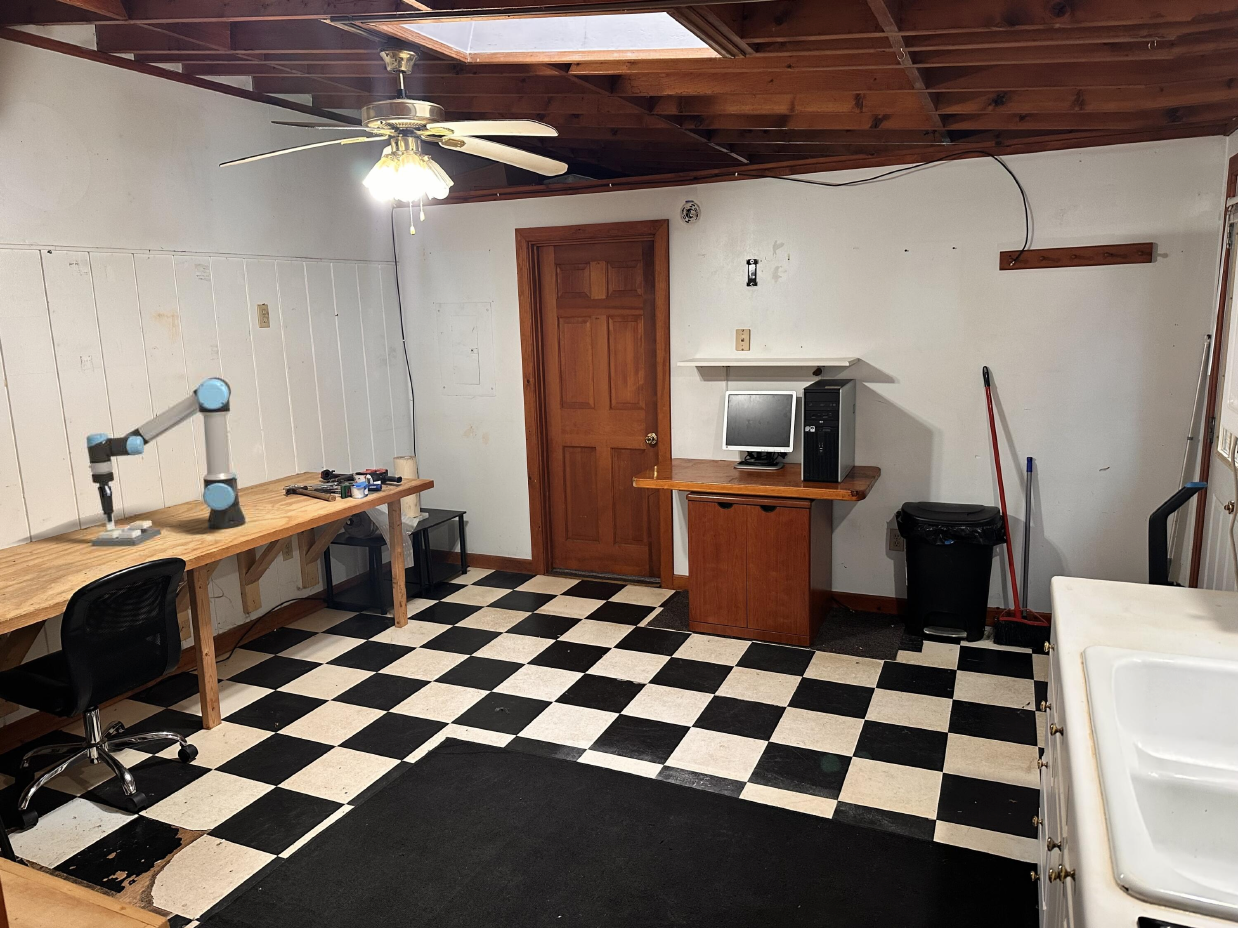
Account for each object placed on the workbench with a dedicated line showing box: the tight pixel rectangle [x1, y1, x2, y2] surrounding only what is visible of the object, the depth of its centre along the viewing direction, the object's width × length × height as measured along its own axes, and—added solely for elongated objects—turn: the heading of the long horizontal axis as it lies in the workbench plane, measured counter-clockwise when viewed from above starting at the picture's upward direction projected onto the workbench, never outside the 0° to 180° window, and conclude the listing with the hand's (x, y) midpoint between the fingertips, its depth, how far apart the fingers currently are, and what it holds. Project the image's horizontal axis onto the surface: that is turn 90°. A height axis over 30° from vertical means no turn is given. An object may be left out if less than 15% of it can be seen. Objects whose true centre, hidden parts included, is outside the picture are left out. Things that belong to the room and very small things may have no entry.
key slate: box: [118, 530, 141, 538], centre depth 350 cm, size 6×6×4 cm
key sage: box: [98, 529, 122, 539], centre depth 350 cm, size 6×6×4 cm
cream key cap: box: [129, 520, 153, 533], centre depth 357 cm, size 6×6×4 cm
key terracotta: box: [111, 524, 134, 532], centre depth 358 cm, size 6×6×4 cm
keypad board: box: [90, 528, 162, 547], centre depth 354 cm, size 18×18×2 cm
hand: (110, 529), depth 350 cm, fingers closed
